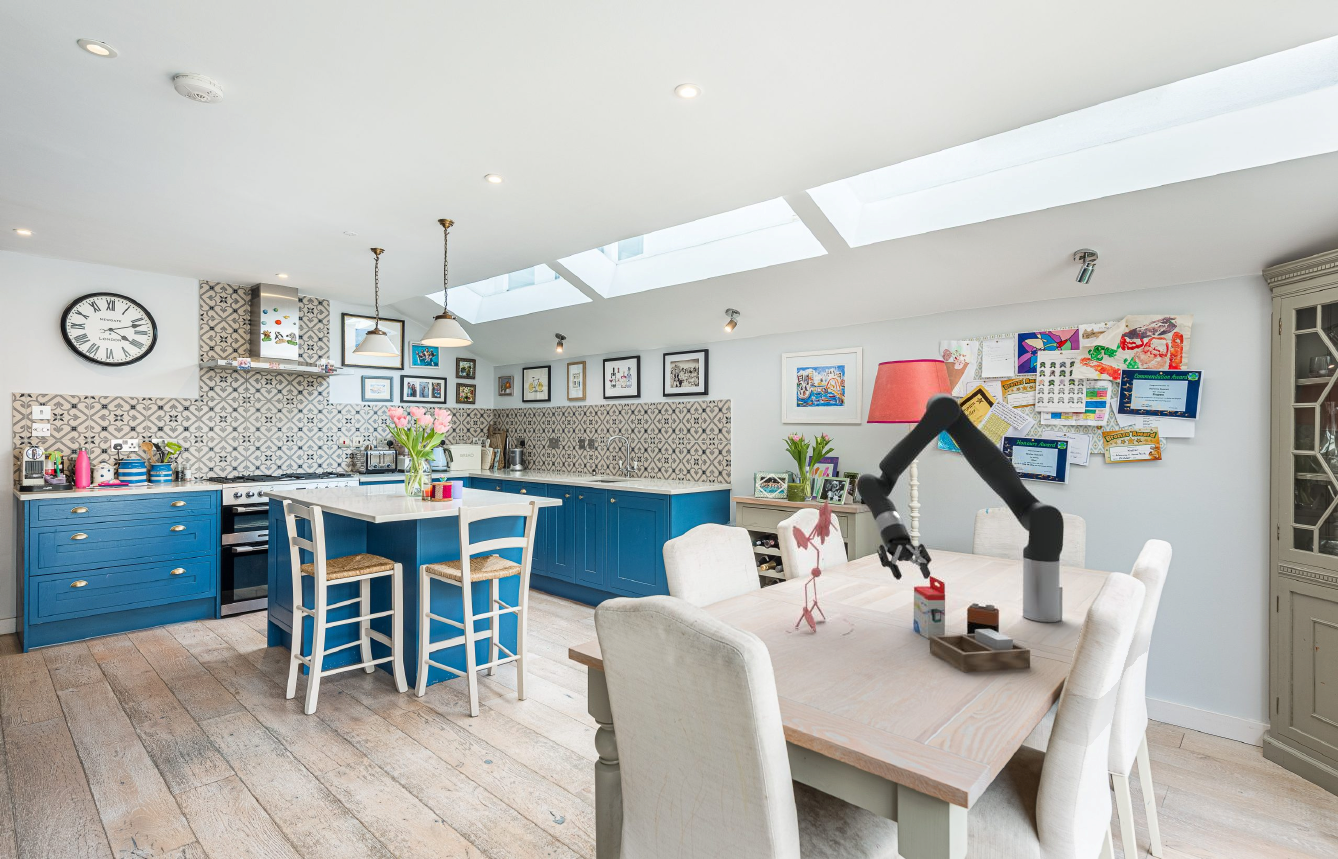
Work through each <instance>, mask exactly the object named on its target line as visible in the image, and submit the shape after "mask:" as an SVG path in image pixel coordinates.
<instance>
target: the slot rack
mask: <svg viewBox="0 0 1338 859" xmlns="http://www.w3.org/2000/svg"><path fill="white" fill-rule="evenodd" d="M929 654H931V655H933V656H935V658H938V659H939V660H940V661H943V662H945V663H947V664H948V665H950V666H952V667H953V668H955V669H957V670H959V671H961V672H962V673H969V672H970V673H973V672H985V671H986V672H988V671H1000V670H1001V671H1002V670H1015V669H1029V668H1031V649H1029V648H1026V647H1024V646H1022V645H1020V644H1018V643H1016V642H1013V650H998V651H996V650H994V649H992V648H990V647H988V646H986V645H984V644H982V643H979V642H977V641H975V634H967V633H965V634H963V633H961V634H948V635H946V634H945V635H944V636H930V639H929Z"/></svg>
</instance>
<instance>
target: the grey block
mask: <svg viewBox="0 0 1338 859" xmlns="http://www.w3.org/2000/svg"><path fill="white" fill-rule="evenodd" d="M975 641H977V642H979V643H982V644H984V645H986V646H988V647H990V648H992V649H994V650H996V651H998V650H1013V643H1014V639H1013V638H1012V637H1009V636H1007V635H1006V634H1003V633H1000V632H999V633H998V632H996V631H994V630H991V629H976V630H975Z"/></svg>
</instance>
